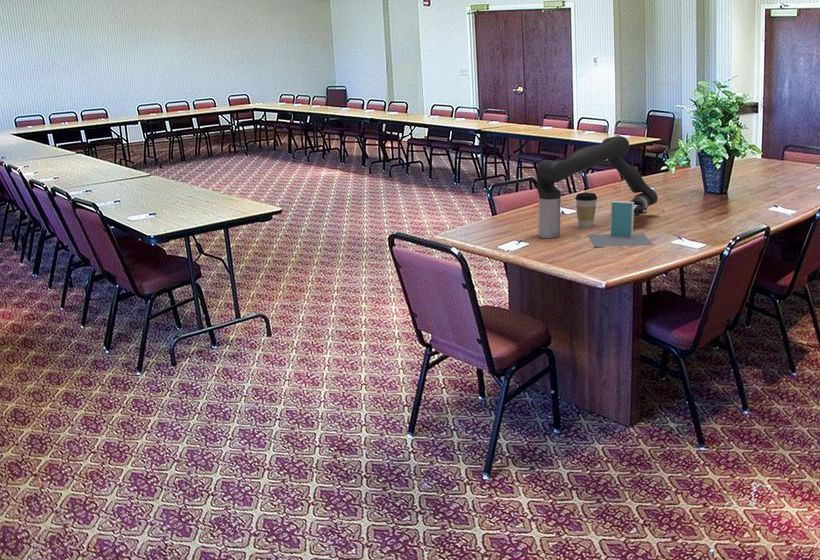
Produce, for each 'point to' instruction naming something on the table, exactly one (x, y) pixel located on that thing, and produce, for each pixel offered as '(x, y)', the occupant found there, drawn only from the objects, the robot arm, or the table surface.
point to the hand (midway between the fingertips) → (627, 213)
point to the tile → (622, 218)
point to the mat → (618, 240)
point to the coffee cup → (585, 209)
